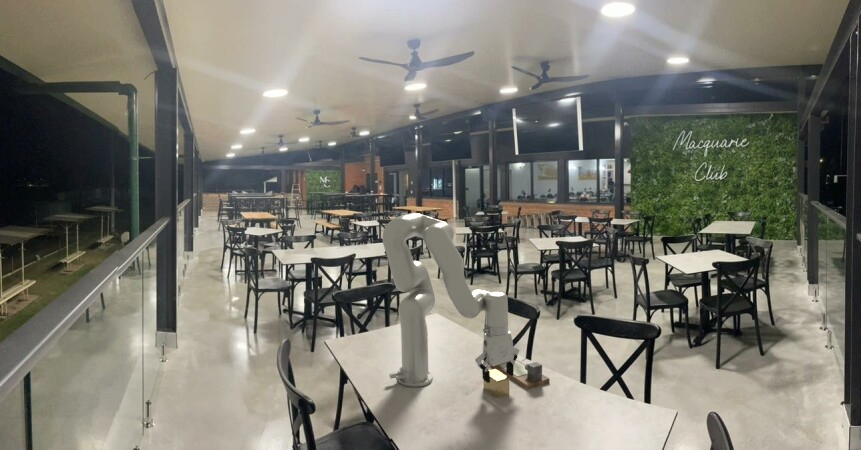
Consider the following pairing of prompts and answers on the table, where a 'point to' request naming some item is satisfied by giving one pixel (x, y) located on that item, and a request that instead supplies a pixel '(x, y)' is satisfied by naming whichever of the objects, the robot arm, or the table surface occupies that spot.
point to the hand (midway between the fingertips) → (498, 377)
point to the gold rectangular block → (497, 384)
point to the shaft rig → (525, 374)
